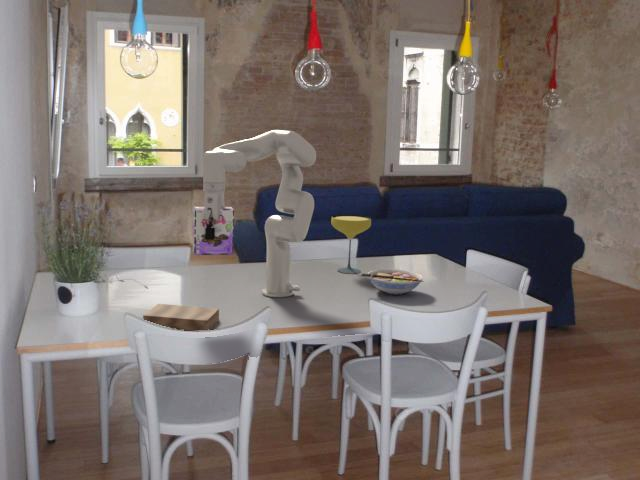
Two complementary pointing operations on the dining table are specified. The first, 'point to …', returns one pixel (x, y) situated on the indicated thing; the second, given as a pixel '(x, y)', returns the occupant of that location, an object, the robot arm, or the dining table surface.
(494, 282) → the dining table surface
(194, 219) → the candy box
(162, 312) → the walnut base
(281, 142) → the robot arm
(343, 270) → the cocktail glass
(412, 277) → the ramen bowl
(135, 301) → the dining table surface
